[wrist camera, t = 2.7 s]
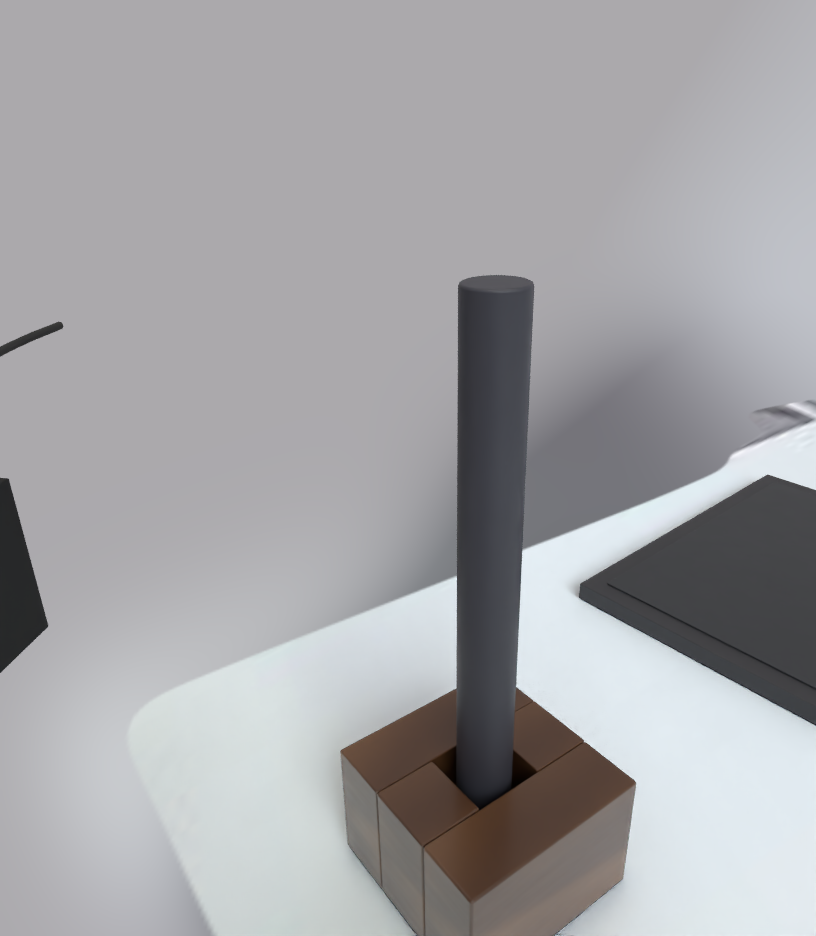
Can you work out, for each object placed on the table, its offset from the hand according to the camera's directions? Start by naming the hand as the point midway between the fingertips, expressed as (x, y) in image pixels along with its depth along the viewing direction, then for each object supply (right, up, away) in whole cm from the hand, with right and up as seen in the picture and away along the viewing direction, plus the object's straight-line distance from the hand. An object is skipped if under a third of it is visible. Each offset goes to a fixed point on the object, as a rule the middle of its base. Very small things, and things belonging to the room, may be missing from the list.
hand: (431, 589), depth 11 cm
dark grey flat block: (+21, -5, +31) cm, 37 cm away
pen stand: (+2, -12, +16) cm, 20 cm away
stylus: (+2, -12, +16) cm, 20 cm away
